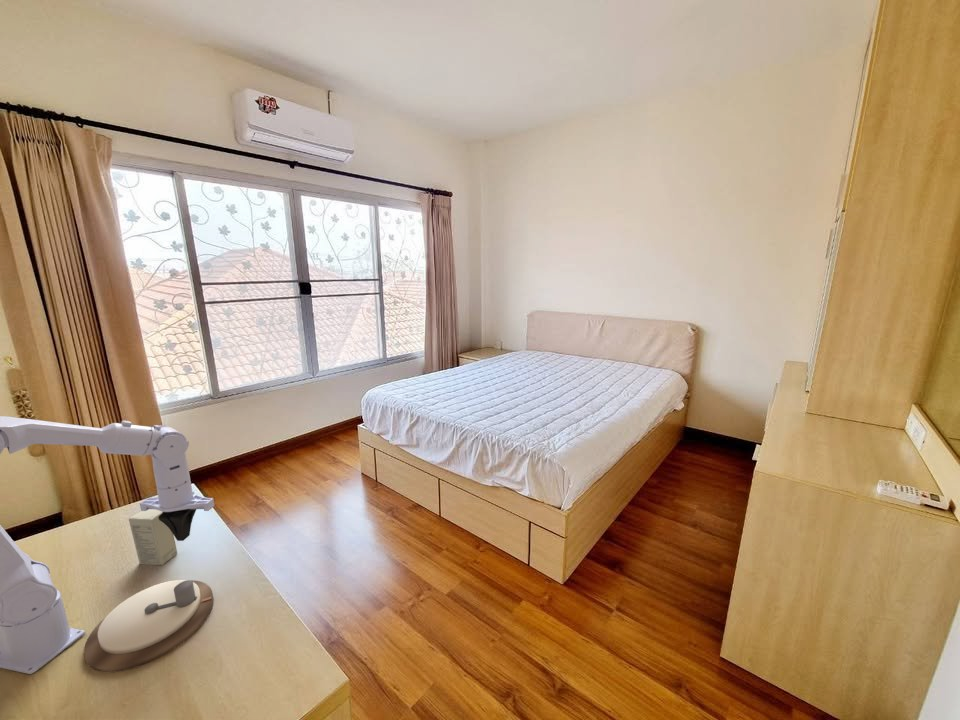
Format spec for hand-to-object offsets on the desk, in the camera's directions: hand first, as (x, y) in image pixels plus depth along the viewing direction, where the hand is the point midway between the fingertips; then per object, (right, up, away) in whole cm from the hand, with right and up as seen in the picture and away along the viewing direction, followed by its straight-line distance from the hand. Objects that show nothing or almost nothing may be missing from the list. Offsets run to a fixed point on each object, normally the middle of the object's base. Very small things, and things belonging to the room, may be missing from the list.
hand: (183, 537), depth 85 cm
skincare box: (-11, -8, +7) cm, 16 cm away
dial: (+2, -10, -11) cm, 15 cm away
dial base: (+2, -12, -10) cm, 16 cm away
